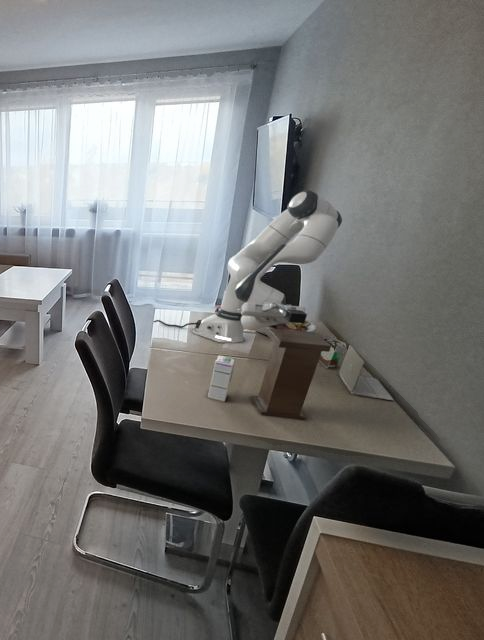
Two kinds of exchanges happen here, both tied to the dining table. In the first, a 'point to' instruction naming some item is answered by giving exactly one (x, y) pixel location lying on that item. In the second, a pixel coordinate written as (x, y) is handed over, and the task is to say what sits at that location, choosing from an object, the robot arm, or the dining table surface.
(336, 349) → the food container
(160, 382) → the dining table surface
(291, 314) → the twin chrome rods
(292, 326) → the bowl
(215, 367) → the syrup box
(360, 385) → the laptop
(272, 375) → the stand
